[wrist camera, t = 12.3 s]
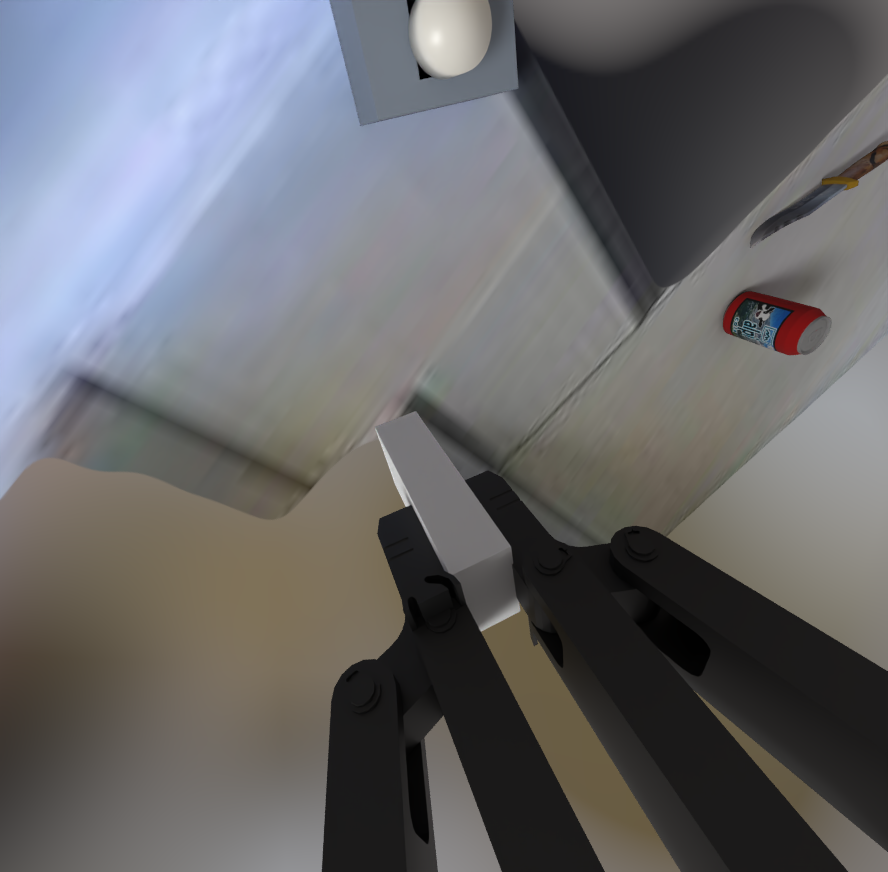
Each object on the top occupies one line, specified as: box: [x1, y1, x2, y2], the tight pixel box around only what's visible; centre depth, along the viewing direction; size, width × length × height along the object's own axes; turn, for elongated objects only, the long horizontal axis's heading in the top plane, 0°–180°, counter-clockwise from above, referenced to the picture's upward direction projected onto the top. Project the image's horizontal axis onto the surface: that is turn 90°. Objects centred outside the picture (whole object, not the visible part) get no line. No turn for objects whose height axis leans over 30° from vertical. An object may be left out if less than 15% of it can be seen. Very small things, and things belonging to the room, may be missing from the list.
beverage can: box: [723, 291, 832, 355], centre depth 62 cm, size 7×7×12 cm
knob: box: [408, 0, 492, 80], centre depth 31 cm, size 5×5×8 cm
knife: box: [750, 141, 888, 248], centre depth 57 cm, size 25×1×5 cm, turn 121°
